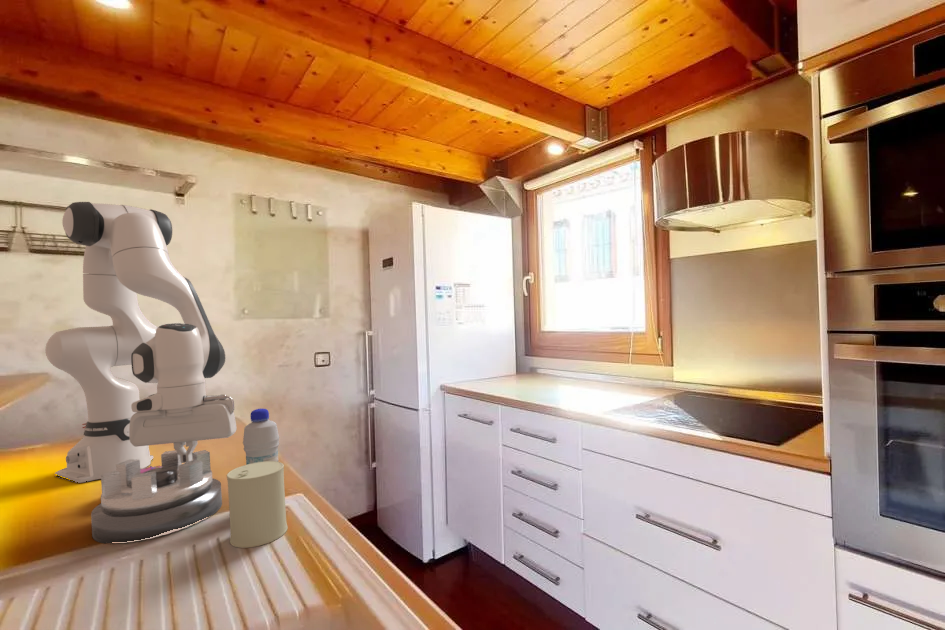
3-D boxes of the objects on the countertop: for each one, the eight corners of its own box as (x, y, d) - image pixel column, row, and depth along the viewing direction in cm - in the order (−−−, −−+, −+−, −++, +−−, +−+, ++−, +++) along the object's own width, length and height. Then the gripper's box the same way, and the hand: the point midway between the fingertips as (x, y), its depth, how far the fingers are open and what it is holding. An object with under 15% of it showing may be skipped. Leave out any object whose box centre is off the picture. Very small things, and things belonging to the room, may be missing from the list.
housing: (63, 537, 82) (62, 515, 82) (171, 492, 102) (171, 474, 102) (147, 549, 76) (146, 525, 76) (245, 499, 96) (244, 479, 96)
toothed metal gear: (75, 513, 82) (73, 478, 82) (163, 477, 100) (162, 448, 100) (157, 517, 78) (155, 480, 78) (233, 479, 96) (231, 448, 96)
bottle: (268, 514, 87) (263, 412, 87) (238, 513, 88) (233, 412, 88) (289, 500, 94) (284, 405, 94) (261, 499, 95) (256, 405, 95)
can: (217, 544, 76) (213, 473, 76) (260, 519, 85) (256, 456, 85) (258, 551, 73) (254, 478, 73) (298, 525, 82) (295, 460, 82)
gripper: (239, 391, 101) (243, 452, 101) (141, 399, 99) (145, 462, 98) (227, 395, 95) (231, 461, 95) (122, 405, 92) (126, 472, 92)
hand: (186, 462), depth 97 cm, fingers closed
